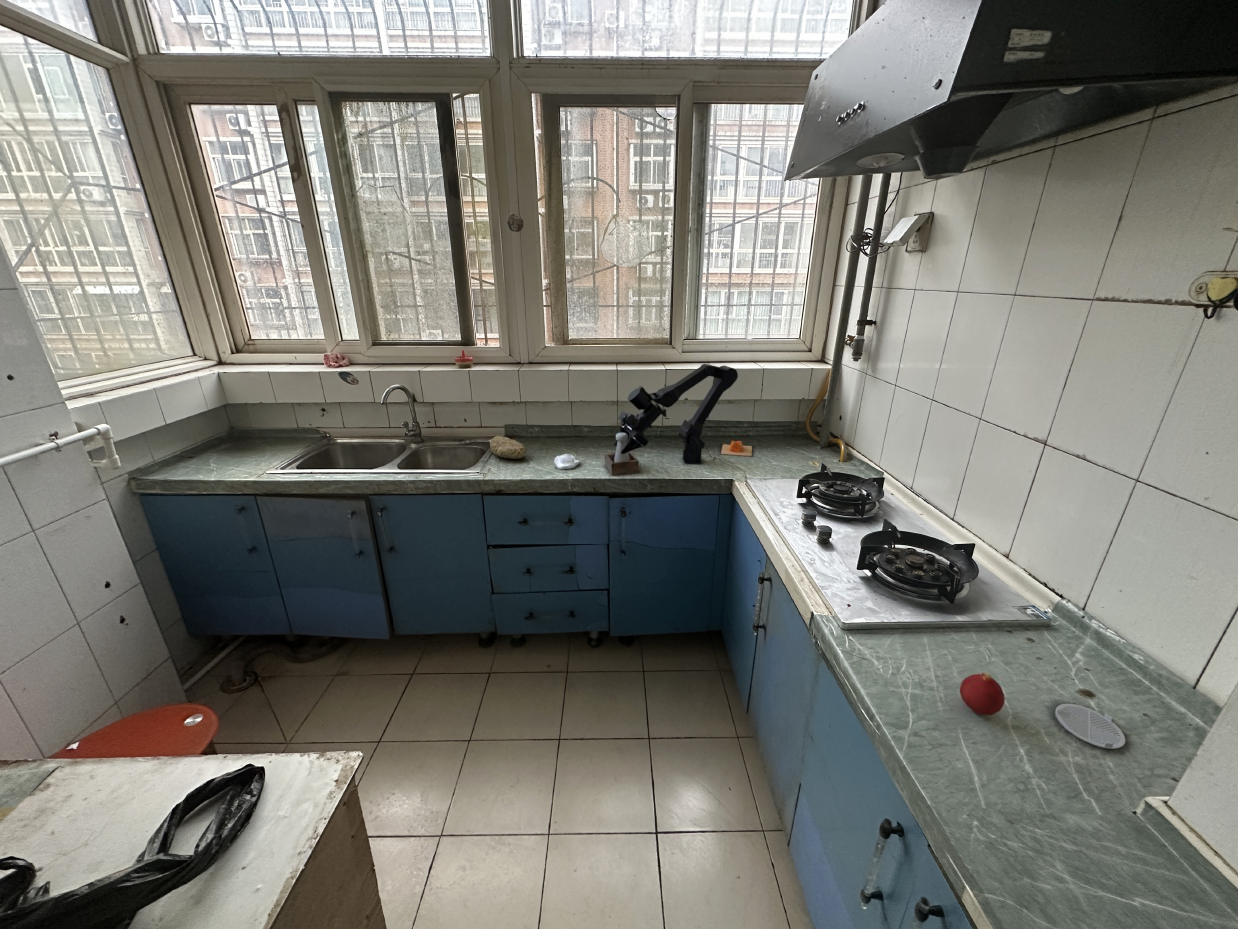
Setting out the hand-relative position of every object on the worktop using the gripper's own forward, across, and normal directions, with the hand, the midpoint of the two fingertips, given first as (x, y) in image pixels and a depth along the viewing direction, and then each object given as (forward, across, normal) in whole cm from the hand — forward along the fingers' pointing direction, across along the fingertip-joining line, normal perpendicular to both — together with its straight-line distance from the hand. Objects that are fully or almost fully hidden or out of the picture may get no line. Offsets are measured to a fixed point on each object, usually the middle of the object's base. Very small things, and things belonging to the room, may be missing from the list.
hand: (618, 449), depth 182 cm
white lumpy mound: (+18, -10, -7) cm, 22 cm away
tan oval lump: (+33, -28, -22) cm, 48 cm away
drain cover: (-24, +129, +36) cm, 136 cm away
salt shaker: (+4, 0, +6) cm, 7 cm away
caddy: (+5, 0, +6) cm, 8 cm away
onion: (-14, +122, +26) cm, 125 cm away
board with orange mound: (-31, -6, +42) cm, 53 cm away
